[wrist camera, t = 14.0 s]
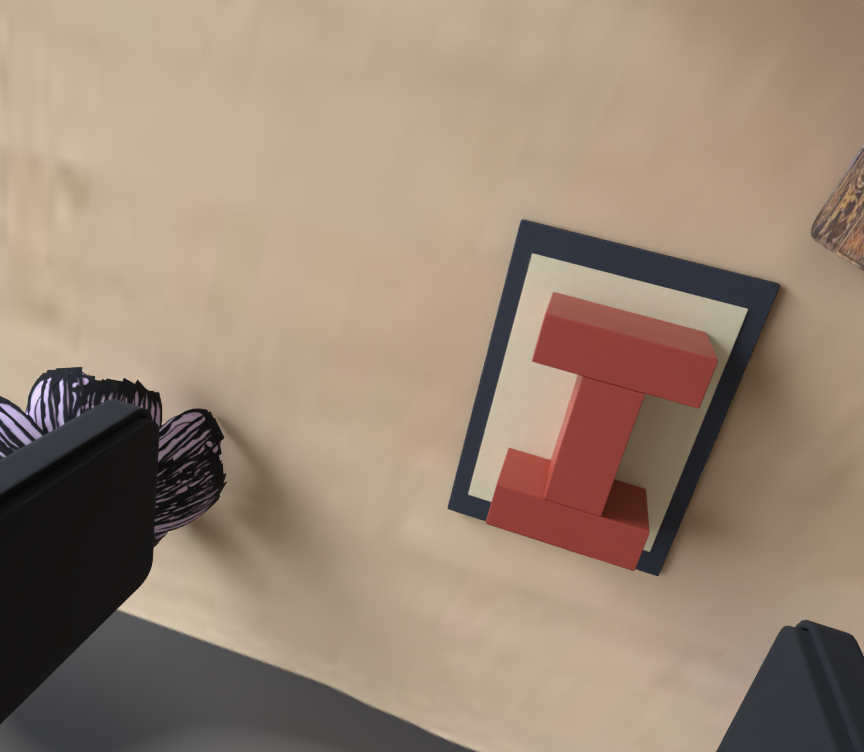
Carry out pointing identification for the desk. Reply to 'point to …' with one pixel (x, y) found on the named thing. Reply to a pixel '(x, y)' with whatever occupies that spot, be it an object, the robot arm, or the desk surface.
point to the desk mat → (551, 388)
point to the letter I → (598, 427)
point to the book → (844, 216)
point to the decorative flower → (178, 442)
